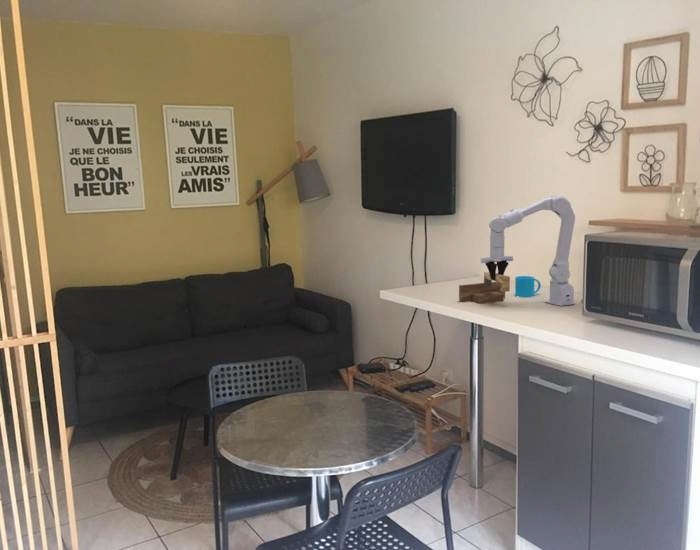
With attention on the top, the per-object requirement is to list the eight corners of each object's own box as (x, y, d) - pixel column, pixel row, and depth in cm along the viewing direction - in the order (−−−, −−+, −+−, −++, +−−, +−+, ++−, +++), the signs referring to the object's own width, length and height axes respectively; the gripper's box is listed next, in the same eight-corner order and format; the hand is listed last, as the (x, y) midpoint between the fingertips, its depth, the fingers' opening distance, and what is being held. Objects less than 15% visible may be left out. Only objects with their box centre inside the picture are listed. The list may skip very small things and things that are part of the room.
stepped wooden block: (513, 299, 271) (513, 283, 270) (469, 304, 263) (469, 288, 262) (502, 296, 279) (502, 281, 278) (459, 301, 271) (459, 285, 270)
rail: (509, 291, 257) (509, 276, 256) (503, 291, 256) (503, 277, 255) (489, 285, 270) (490, 271, 269) (483, 286, 269) (484, 272, 268)
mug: (521, 297, 275) (521, 279, 274) (511, 294, 283) (511, 276, 282) (545, 295, 278) (545, 277, 277) (535, 292, 286) (535, 274, 285)
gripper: (506, 244, 267) (505, 276, 269) (476, 246, 262) (476, 279, 264) (516, 246, 260) (515, 278, 262) (486, 248, 255) (485, 281, 257)
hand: (496, 279), depth 263 cm, fingers closed on rail, 3 cm apart
